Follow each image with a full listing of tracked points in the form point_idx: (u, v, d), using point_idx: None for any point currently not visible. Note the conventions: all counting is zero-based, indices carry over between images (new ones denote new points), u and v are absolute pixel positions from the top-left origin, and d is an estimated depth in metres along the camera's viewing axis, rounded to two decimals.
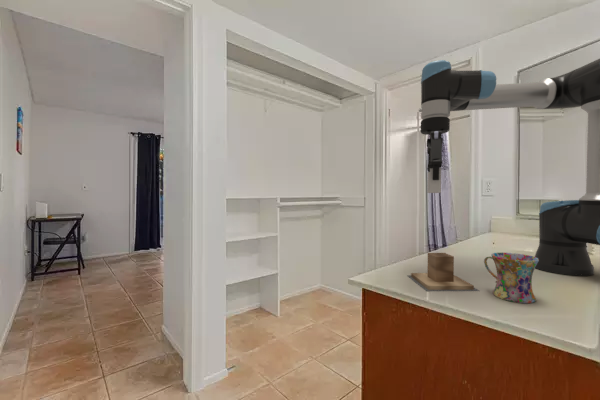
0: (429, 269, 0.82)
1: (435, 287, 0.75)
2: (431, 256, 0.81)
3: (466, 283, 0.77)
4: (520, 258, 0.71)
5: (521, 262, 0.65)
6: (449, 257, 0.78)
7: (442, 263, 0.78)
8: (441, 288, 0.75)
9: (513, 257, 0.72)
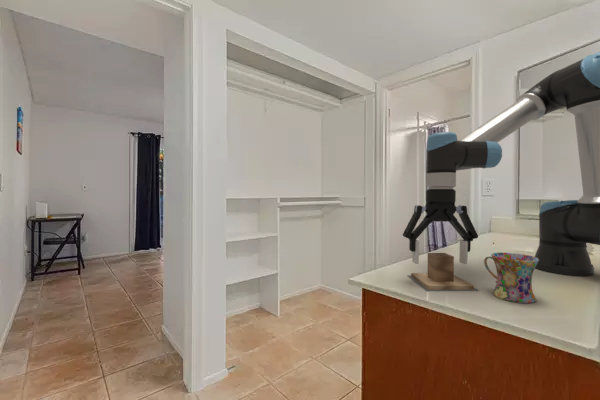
0: (429, 269, 0.82)
1: (435, 287, 0.75)
2: (431, 256, 0.81)
3: (466, 283, 0.77)
4: (520, 258, 0.71)
5: (521, 262, 0.65)
6: (449, 257, 0.78)
7: (442, 263, 0.78)
8: (441, 288, 0.75)
9: (513, 257, 0.72)
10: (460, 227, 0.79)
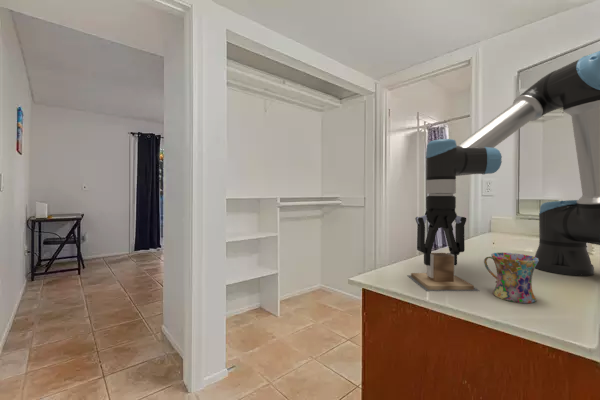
0: None
1: (435, 287, 0.75)
2: None
3: (466, 283, 0.77)
4: (520, 258, 0.71)
5: (521, 262, 0.65)
6: (449, 257, 0.78)
7: (442, 263, 0.78)
8: (441, 288, 0.75)
9: (513, 257, 0.72)
10: (452, 238, 0.79)
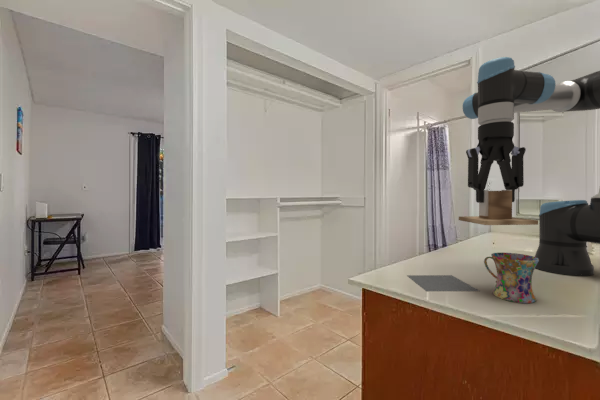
0: None
1: (493, 222, 0.66)
2: None
3: (527, 219, 0.68)
4: (520, 258, 0.71)
5: (521, 262, 0.65)
6: (507, 191, 0.69)
7: (498, 198, 0.70)
8: (500, 223, 0.66)
9: (513, 257, 0.72)
10: (509, 171, 0.71)
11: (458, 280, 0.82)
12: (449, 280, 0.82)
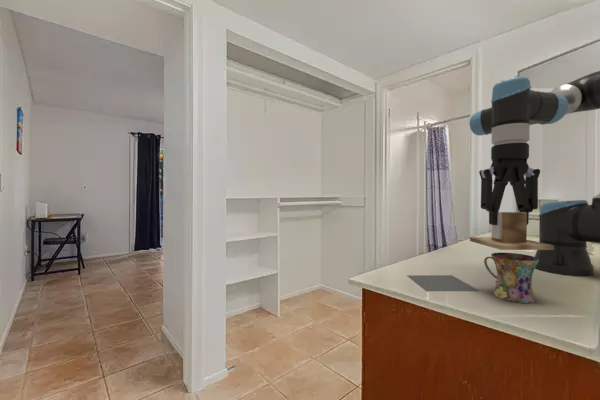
0: None
1: (509, 247, 0.64)
2: None
3: (543, 243, 0.66)
4: (520, 258, 0.71)
5: (521, 262, 0.65)
6: (521, 214, 0.68)
7: (513, 221, 0.68)
8: (516, 248, 0.64)
9: (513, 257, 0.72)
10: (524, 193, 0.69)
11: (458, 280, 0.82)
12: (449, 280, 0.82)
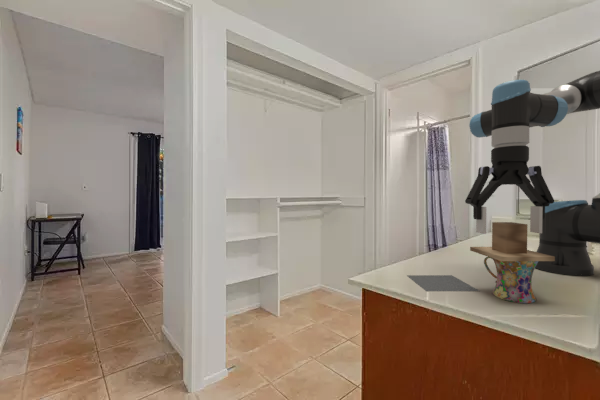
0: (495, 240, 0.72)
1: (510, 258, 0.64)
2: (499, 225, 0.70)
3: (543, 254, 0.66)
4: None
5: (521, 262, 0.65)
6: (522, 225, 0.68)
7: (514, 232, 0.68)
8: (517, 259, 0.64)
9: None
10: (533, 190, 0.69)
11: (458, 280, 0.82)
12: (449, 280, 0.82)
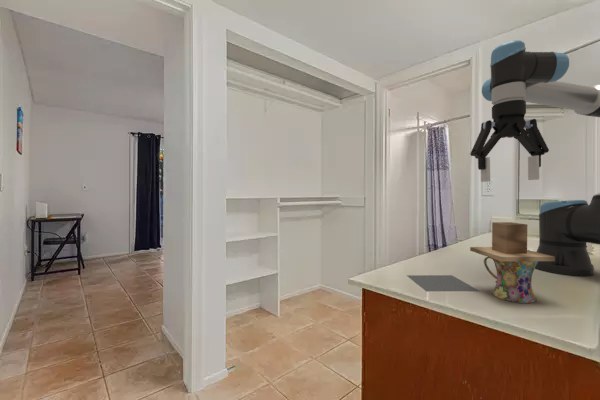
0: (495, 240, 0.72)
1: (510, 258, 0.64)
2: (499, 225, 0.70)
3: (543, 254, 0.66)
4: None
5: (521, 262, 0.65)
6: (522, 225, 0.68)
7: (514, 232, 0.68)
8: (517, 259, 0.64)
9: None
10: (530, 141, 0.77)
11: (458, 280, 0.82)
12: (449, 280, 0.82)
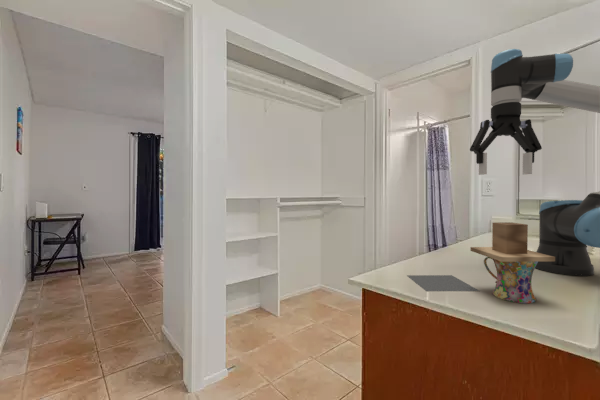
0: (495, 241, 0.72)
1: (510, 259, 0.64)
2: (499, 225, 0.70)
3: (544, 255, 0.66)
4: None
5: (521, 262, 0.65)
6: (522, 225, 0.68)
7: (514, 232, 0.68)
8: (517, 260, 0.64)
9: None
10: (525, 139, 0.85)
11: (458, 280, 0.82)
12: (449, 280, 0.82)
